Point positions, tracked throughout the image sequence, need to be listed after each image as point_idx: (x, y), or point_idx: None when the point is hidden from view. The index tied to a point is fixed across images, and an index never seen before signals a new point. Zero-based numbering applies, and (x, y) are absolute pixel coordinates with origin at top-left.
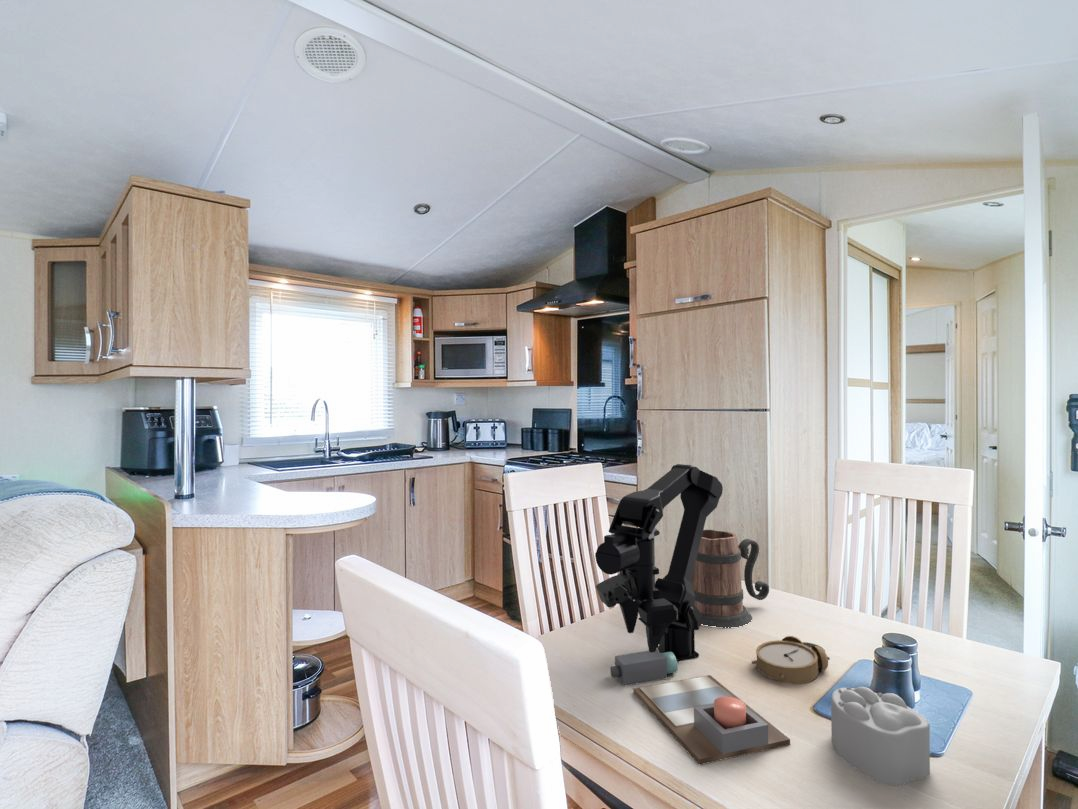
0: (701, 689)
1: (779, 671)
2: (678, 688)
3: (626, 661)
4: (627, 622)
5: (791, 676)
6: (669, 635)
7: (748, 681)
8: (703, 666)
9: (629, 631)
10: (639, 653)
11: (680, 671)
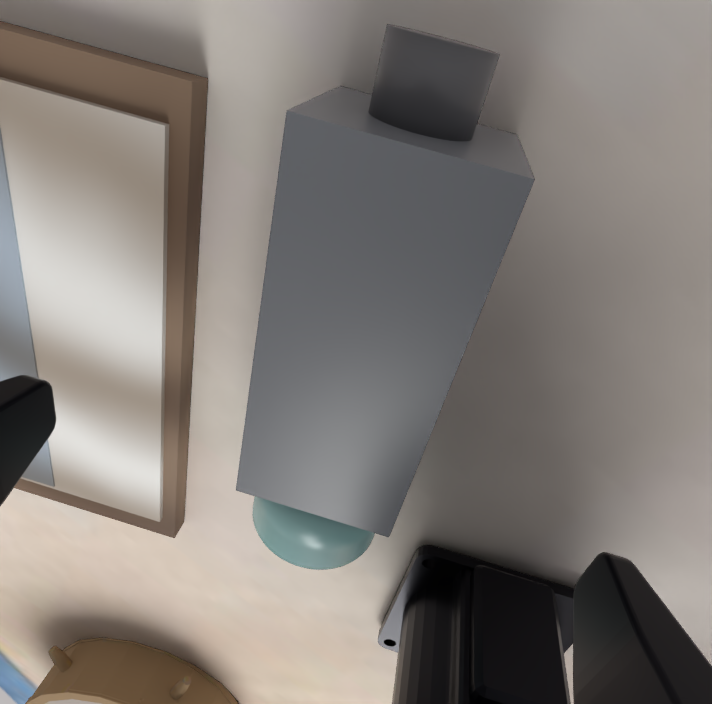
0: None
1: (69, 673)
2: (81, 336)
3: (343, 200)
4: (658, 701)
5: (55, 668)
6: (456, 700)
7: (119, 588)
8: (299, 584)
9: (599, 575)
10: (411, 411)
11: None
